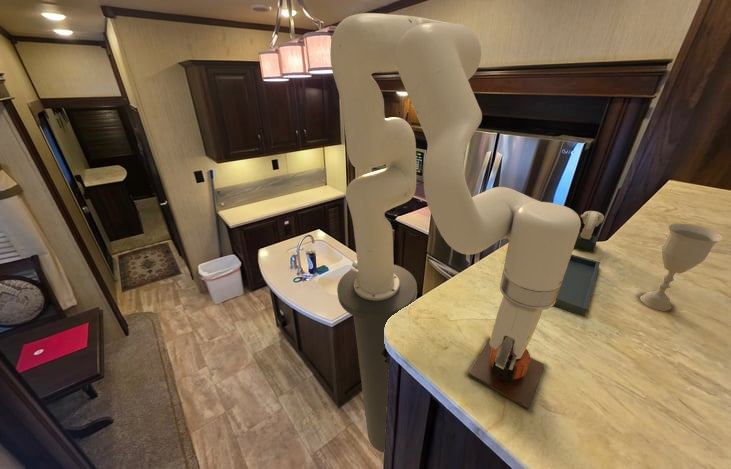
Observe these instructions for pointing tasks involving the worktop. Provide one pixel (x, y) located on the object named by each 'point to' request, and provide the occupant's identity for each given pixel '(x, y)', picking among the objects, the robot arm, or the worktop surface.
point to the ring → (520, 363)
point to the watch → (588, 231)
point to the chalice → (680, 258)
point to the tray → (577, 285)
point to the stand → (516, 390)
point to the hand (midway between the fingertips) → (507, 363)
